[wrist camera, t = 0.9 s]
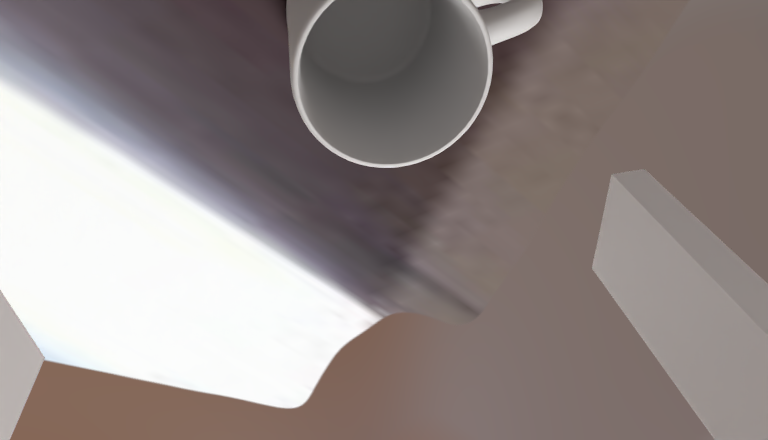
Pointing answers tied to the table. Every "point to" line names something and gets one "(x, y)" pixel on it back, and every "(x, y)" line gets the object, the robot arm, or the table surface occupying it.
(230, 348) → the table surface
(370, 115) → the mug
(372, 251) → the table surface
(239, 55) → the table surface
